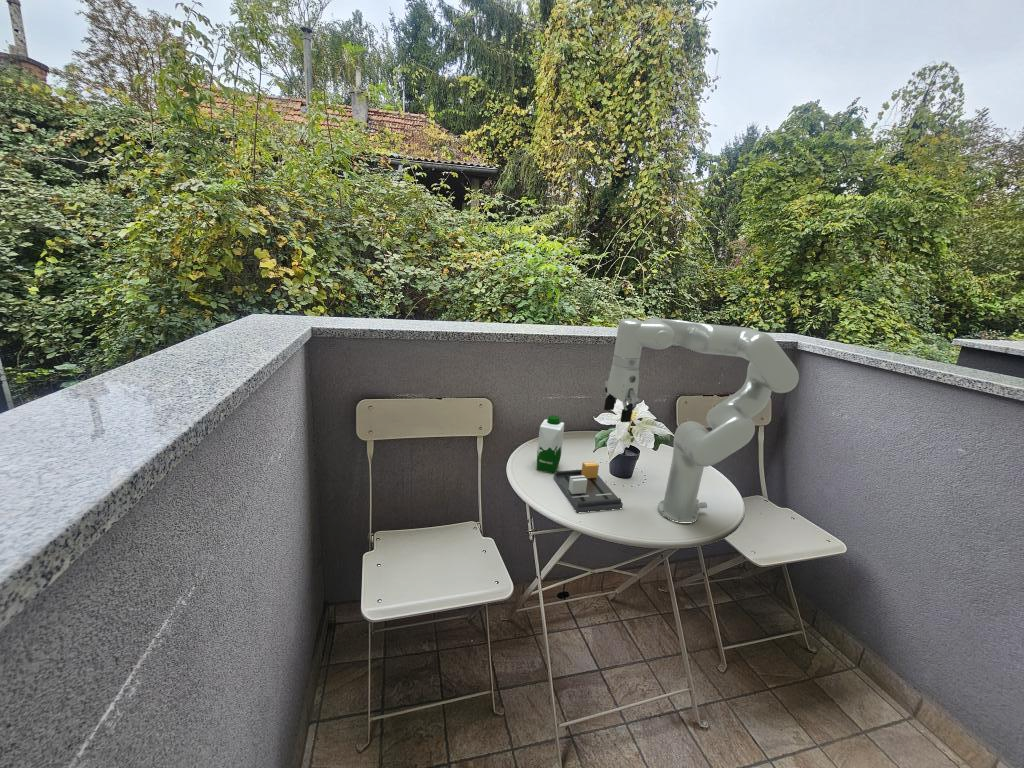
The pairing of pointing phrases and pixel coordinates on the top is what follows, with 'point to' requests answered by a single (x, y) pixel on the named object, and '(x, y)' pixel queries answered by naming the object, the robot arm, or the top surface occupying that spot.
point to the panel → (588, 493)
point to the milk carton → (550, 444)
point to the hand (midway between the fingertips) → (616, 415)
